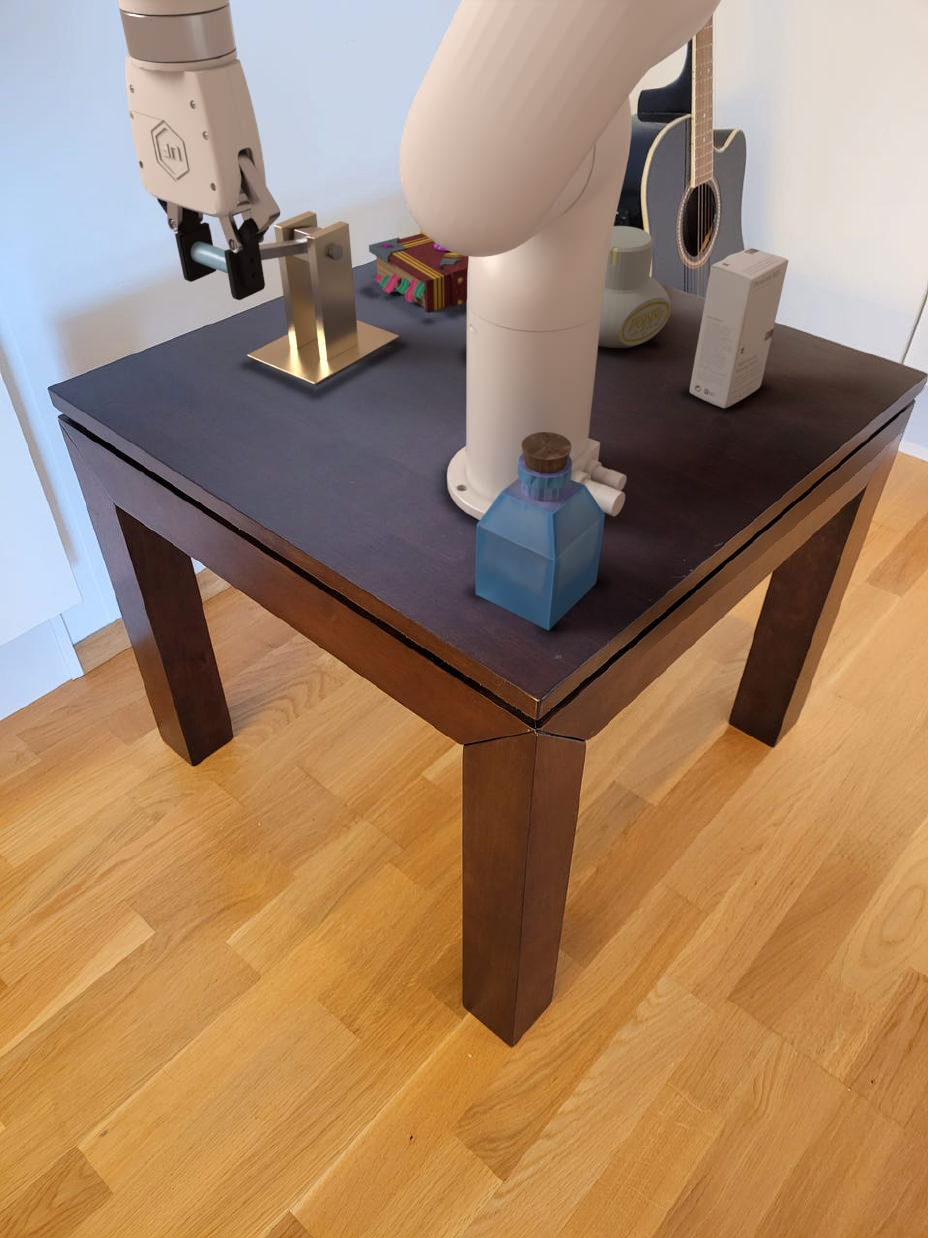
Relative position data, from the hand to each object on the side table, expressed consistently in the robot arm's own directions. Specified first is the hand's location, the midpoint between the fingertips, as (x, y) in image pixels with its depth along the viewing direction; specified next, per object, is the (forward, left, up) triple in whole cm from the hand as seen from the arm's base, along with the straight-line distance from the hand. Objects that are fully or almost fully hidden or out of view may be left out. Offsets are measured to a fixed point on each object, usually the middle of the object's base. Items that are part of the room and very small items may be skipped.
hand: (224, 282), depth 79 cm
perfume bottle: (-36, +5, -11) cm, 38 cm away
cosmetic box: (-34, -29, -11) cm, 46 cm away
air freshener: (-20, -32, -11) cm, 39 cm away
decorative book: (0, -31, -11) cm, 33 cm away
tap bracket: (0, -11, -11) cm, 15 cm away
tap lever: (0, -5, 0) cm, 5 cm away
